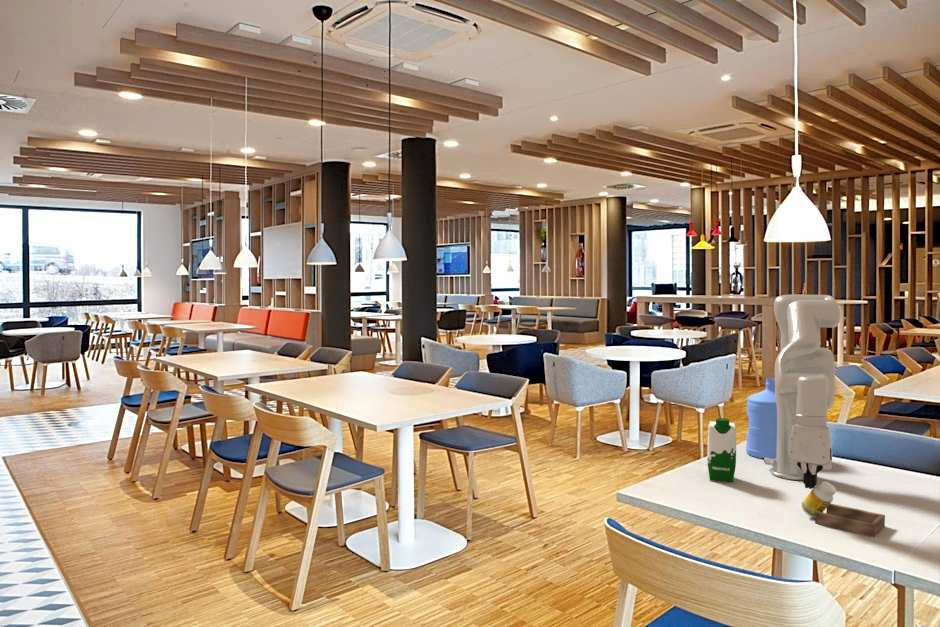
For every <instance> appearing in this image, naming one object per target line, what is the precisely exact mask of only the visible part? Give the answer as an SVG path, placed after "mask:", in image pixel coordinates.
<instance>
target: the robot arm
mask: <svg viewBox="0 0 940 627" xmlns="http://www.w3.org/2000/svg"><path fill="white" fill-rule="evenodd" d="M773 314H774V317H775V320H776V323H777V326H778V328H779V332H780V333H779V334H780V352H779V353H778V355H777V356H776V359H775V363H774V379H775V398H776V405H777V450H776V458H774V459H771V458H766V457H765V458H764V459H763V462H764V465H766V466H771V468H770V473H771V475H774V476H776V477H778V478H781V477H782V478H781V479H787V480H794V481H803V485H804V488H805V489H809V490H813V488H814V487H816V486H818V485H817V484H818V473H820V472H821V471H823V470H824V471H825V470H827V471H828V470H831V469H832V468H833V464H832V461H833V442H832V435H831V430H830V427H828V426H827V425H828V411H829V410H831V409H832V408H833V406H834V403H835V387H836V386H835V381H836V380H835V377H836V376H835V375H836V370H835V369H836V364H835V363H836V362H835V357H834V356H835V355H834V354H833V352H832V350H831V349H829V348H826V347H821V345H822V342H821V332H820V328H836V327H838V326H839V324H840V323H841V322H840V321H841V315H842V314H841V308H840V305H839V303H838V302H837V300H836V299H835V298H834V297H833V296H831V295H828V294H801V293H800V294H783V295H779V296H777V297H776V298H775V299H774V301H773ZM810 465H811V468H810Z"/></svg>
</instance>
